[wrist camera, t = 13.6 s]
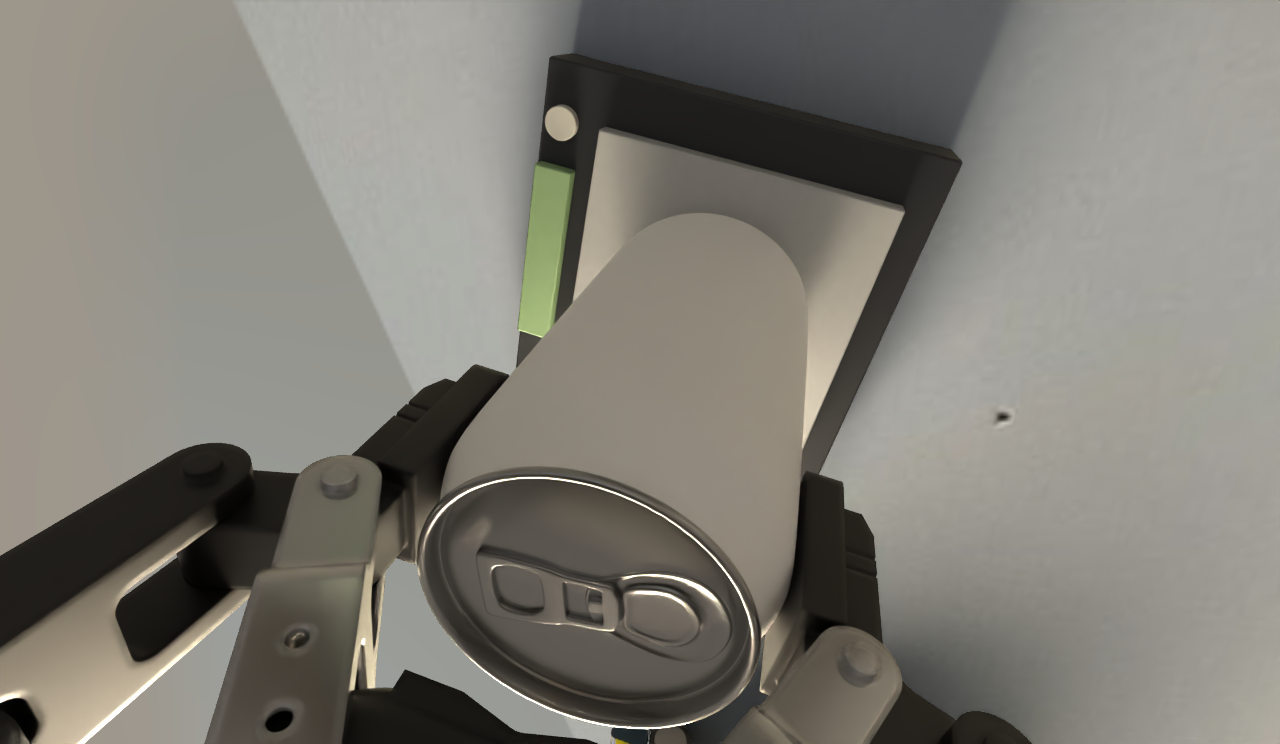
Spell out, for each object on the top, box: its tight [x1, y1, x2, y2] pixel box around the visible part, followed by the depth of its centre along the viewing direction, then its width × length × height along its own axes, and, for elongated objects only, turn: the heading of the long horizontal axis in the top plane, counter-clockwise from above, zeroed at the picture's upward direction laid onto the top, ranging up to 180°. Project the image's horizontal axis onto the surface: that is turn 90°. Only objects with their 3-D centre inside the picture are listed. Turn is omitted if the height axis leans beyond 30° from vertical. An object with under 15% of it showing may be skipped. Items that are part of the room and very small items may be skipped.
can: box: [417, 213, 808, 729], centre depth 15 cm, size 6×6×12 cm
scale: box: [516, 53, 962, 481], centre depth 21 cm, size 12×12×2 cm
